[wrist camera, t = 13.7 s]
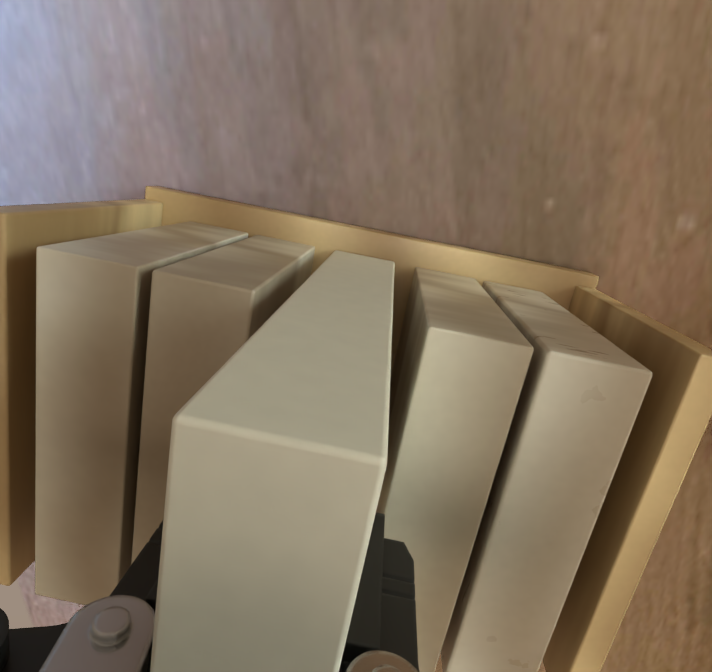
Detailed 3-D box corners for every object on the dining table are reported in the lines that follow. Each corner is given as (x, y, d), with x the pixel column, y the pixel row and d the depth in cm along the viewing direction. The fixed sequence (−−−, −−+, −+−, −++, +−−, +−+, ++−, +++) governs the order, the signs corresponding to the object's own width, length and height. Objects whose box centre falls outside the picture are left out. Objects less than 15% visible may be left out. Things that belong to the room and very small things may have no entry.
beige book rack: (138, 442, 24) (-30, 608, 15) (156, 185, 21) (-48, 184, 11) (509, 521, 24) (583, 743, 14) (590, 272, 20) (760, 347, 11)
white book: (296, 470, 23) (122, 959, 8) (334, 249, 20) (169, 415, 5) (349, 482, 23) (264, 992, 8) (395, 261, 20) (388, 460, 5)
